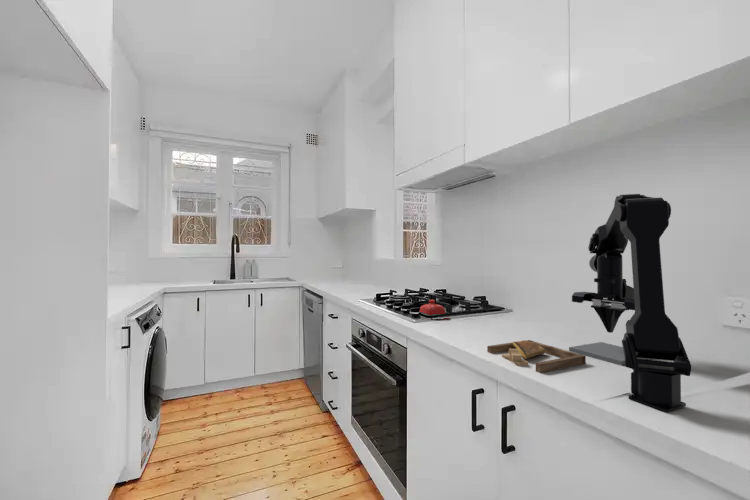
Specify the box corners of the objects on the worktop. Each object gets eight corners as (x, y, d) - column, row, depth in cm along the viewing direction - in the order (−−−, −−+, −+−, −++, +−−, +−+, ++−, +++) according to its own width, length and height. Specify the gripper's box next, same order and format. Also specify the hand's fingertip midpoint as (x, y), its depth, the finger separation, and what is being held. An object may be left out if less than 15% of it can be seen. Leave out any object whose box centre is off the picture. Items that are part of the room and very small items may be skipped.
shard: (524, 360, 87) (525, 353, 87) (498, 349, 93) (499, 342, 93) (546, 354, 94) (547, 348, 94) (520, 344, 100) (521, 338, 100)
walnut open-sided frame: (585, 363, 86) (585, 355, 86) (540, 372, 80) (540, 364, 80) (529, 346, 102) (529, 340, 102) (487, 353, 95) (487, 346, 95)
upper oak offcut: (521, 361, 85) (521, 355, 85) (513, 361, 85) (512, 355, 85) (516, 354, 91) (516, 348, 91) (508, 354, 91) (508, 348, 91)
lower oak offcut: (528, 367, 85) (528, 361, 85) (519, 368, 84) (519, 362, 84) (509, 359, 92) (509, 353, 92) (501, 360, 91) (501, 354, 91)
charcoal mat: (654, 358, 90) (654, 354, 91) (621, 365, 85) (621, 361, 85) (601, 345, 103) (601, 342, 103) (569, 350, 98) (569, 347, 98)
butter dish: (413, 318, 147) (413, 298, 147) (436, 316, 152) (436, 297, 152) (427, 323, 137) (427, 302, 137) (451, 321, 141) (451, 300, 141)
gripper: (666, 276, 89) (667, 336, 89) (595, 272, 106) (595, 323, 106) (640, 277, 84) (641, 341, 84) (570, 273, 102) (570, 326, 101)
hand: (610, 332), depth 94 cm, fingers closed
